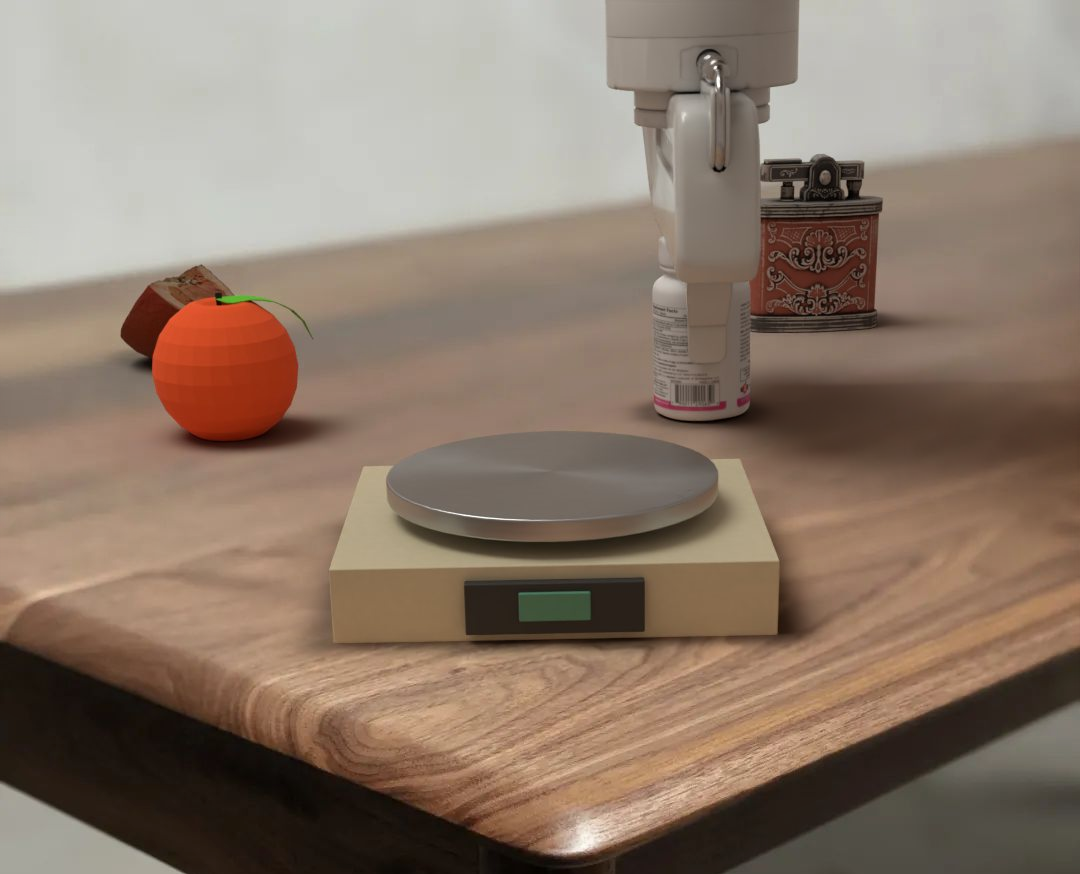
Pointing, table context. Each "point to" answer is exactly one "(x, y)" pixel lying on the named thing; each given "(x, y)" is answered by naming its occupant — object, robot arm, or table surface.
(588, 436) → the pan
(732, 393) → the pill bottle
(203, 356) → the clementine
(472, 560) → the scale
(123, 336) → the brown block
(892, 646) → the table surface
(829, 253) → the lighter
